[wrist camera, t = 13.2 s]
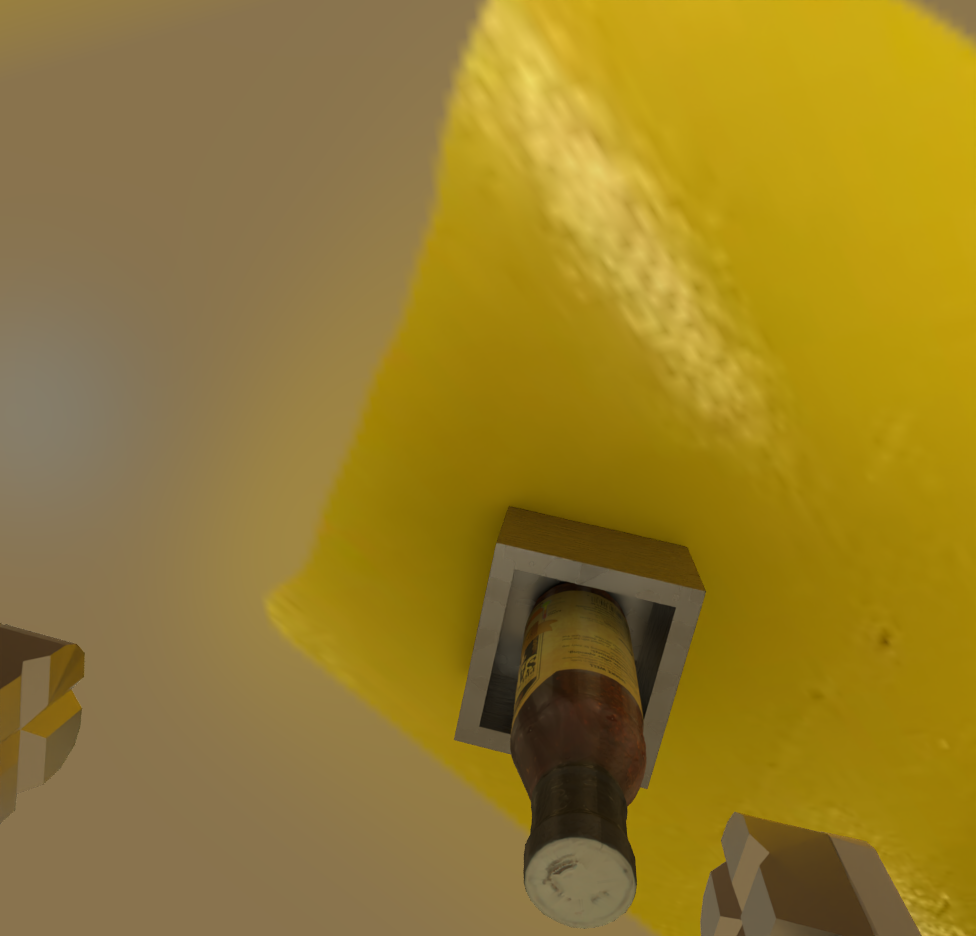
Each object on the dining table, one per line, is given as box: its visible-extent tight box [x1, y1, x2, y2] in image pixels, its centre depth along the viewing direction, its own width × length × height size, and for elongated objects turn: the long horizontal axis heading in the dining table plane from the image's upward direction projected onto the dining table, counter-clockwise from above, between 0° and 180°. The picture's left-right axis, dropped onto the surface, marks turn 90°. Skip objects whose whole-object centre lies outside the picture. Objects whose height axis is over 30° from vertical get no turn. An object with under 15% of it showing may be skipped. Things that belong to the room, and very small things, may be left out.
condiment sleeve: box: [454, 506, 706, 789], centre depth 43 cm, size 11×12×7 cm
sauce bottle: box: [510, 582, 647, 929], centre depth 36 cm, size 6×6×20 cm
